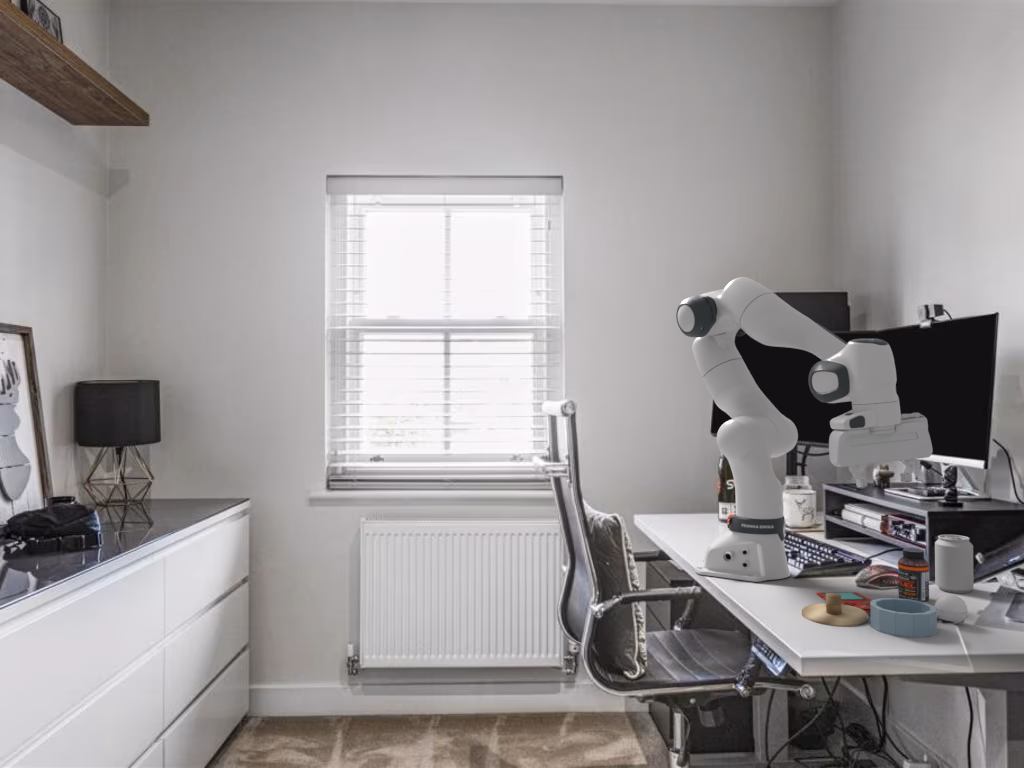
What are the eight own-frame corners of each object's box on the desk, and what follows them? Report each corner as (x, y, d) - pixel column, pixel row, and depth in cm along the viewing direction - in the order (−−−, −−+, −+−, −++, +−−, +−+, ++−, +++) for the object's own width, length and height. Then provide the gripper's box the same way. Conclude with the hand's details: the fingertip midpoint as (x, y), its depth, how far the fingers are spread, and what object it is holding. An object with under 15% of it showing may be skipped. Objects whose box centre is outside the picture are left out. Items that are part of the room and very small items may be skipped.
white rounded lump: (932, 617, 158) (932, 589, 158) (965, 620, 156) (965, 592, 156) (937, 629, 151) (937, 599, 151) (972, 632, 149) (971, 602, 149)
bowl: (871, 638, 146) (870, 610, 146) (870, 621, 156) (870, 595, 156) (938, 645, 141) (938, 617, 141) (933, 627, 151) (933, 601, 151)
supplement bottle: (892, 602, 169) (892, 549, 169) (905, 597, 173) (904, 545, 173) (922, 608, 164) (921, 553, 164) (934, 603, 168) (933, 549, 168)
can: (978, 594, 174) (978, 539, 174) (941, 593, 176) (941, 539, 176) (966, 586, 182) (965, 533, 182) (930, 584, 183) (930, 532, 183)
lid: (799, 623, 153) (798, 601, 153) (803, 605, 164) (802, 584, 164) (868, 629, 148) (867, 606, 148) (867, 609, 159) (866, 588, 159)
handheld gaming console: (846, 608, 158) (814, 591, 173) (846, 614, 158) (815, 596, 173) (891, 608, 159) (856, 591, 174) (891, 614, 159) (856, 596, 174)
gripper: (917, 411, 166) (924, 477, 166) (822, 421, 164) (829, 488, 164) (935, 411, 159) (942, 480, 159) (836, 422, 158) (844, 491, 158)
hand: (884, 484), depth 162 cm, fingers open, 8 cm apart
